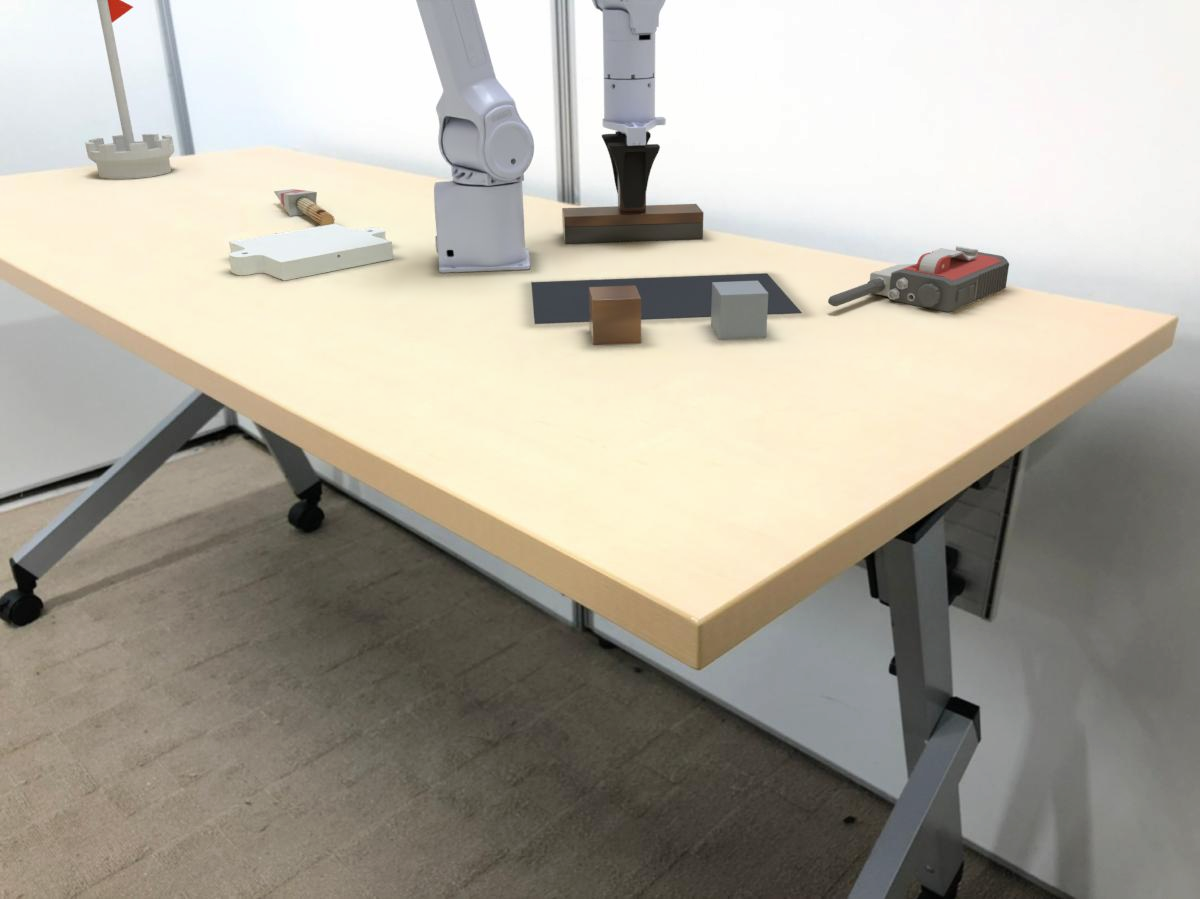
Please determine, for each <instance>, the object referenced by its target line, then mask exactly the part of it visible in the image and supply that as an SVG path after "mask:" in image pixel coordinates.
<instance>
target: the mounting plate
mask: <svg viewBox="0 0 1200 899" xmlns="http://www.w3.org/2000/svg"><path fill="white" fill-rule="evenodd" d="M228 243H229V249H230V250H229V251H230V252H229V253H228V259H229V265H230V270H231V273H232V274H234V275H236V276H249V275H254V274H266V275H269V276H272V277H274V278H276V279H278V280H281V281H283V282H284V281H290V280H296V279H300V278H305V277H309V276H314V275H320V274H324V273H329V272H330V273H331V272H334V271H340V270H345V269H350V268H354V267H360V266H365V265H370V264H375V263H379V262H385V261H390V260H393V259H394V250H393V241H391V240H388V239H387V236H386V229H383V228H380V227H367V228H361V229H360V228H359V229H353V228H350V227H346V226H343V225H340V224H337V223H333V224H331V225H325V226H321V225H320V226H314V227H309V228H307V227H306V228H301V229H296V230H291V231H284V232H280V233H272V234H267V235H266V234H265V235H261V236H256V237H249V238H243V239H238V240H232V241H231V240H230V241H229V242H228Z"/></svg>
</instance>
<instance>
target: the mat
mask: <svg viewBox="0 0 1200 899" xmlns="http://www.w3.org/2000/svg"><path fill="white" fill-rule="evenodd" d="M735 281H759V283H760V284H761V285H762V286H763V287H764V289H765V290H766V291H767V292H768V311H767V316H769V315H772V316H773V315H795V314H797V315H798V314H803V312H802V311H801V310H800V308H799V307H798V306H797V305H796V304H795V302H793V301H792V300H791V298H789V296H788V295H787V294H786V293H785V292H784V291H783V289H782V288H781V287H780V286H779V284H778V283H777V282H776V281H774V279H773V278H772V277H771V276H770V275H769V273H768V272H765V273H763V272H762V273H734V274H709V275H685V276H683V275H682V276H657V277H633V278H631V277H630V278H629V277H628V278H608V279H607V278H605V279H581V280H580V279H579V280H555V281H554V280H553V281H552V280H551V281H531V283H530V284H531V294H532V308H533V309H532V310H533V319H534V320H533V321H534V325H549V324H570V323H571V324H572V323H573V324H574V323H590V316H589V287H608V286H636V288H637V290H638V293H639V295H640V297H641V321H645V320H647V321H648V320H670V319H671V320H672V319H693V318H694V319H696V318H711V305H712V282H735Z"/></svg>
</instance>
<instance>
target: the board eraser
mask: <svg viewBox="0 0 1200 899" xmlns="http://www.w3.org/2000/svg"><path fill="white" fill-rule="evenodd" d="M561 218H562V219H561V220H562V238H563V242H564V245H590V244H591V245H592V244H617V243H645V242H646V243H648V242H650V243H651V242H676V241H679V242H680V241H702V240H704V211H703V210H702V209H701V207H699V205H698V204H697V203H680V204H679V203H677V204H675V203H674V204H653V205H652V204H649V205H648V204H647V194H646V195H645V200H644V204H643V207H642V208H624V205H623V201H622V197H621V191H620V184H619V177H618V193H617V206H614V205H613V206H585V207H583V206H582V207H562V208H561Z"/></svg>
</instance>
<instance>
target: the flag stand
mask: <svg viewBox="0 0 1200 899" xmlns="http://www.w3.org/2000/svg"><path fill="white" fill-rule="evenodd" d="M96 3H97V8H98V14H99V18H100V25H101V29H102V35H103V40H104V45H105V50H106V55H107V60H108V66H109V70H110V76H111V81H112V85H113V86H112V87H113V91H114V97H115V102H116V106H117V111H118V117H119V122H120V128H121V132H122V134H118V135H112V136H111V138H112V143H105V141H104V138H103V137H95V138H91V139H88V141H86V142H84V145H85V149H86V154H87V158H88V159H89V160H91V161H92V162H93V163H94V164H95V165H96V167H97V173H98V177H99V178H102V179H108V180H131V179H141V178H142V179H144V178H151V177H158V176H162V175H166V174H169V173H170V172H172V168H171V162H170V158H171V157H172V156H173V154H175V146H174V140H173V136H172V135H170V134H163V135H161V138H160V135H159V133H143V134H141V137H142V140H135V137H134V133H133V132H134V131H133V127H132V121H131V116H130V111H129V106H128V101H127V96H126V90H125V85H124V79H123V75H122V74H123V73H122V68H121V64H120V59H119V54H118V49H117V43H116V37H115V33H114V28H113V23H114V22H115V21H117V20H118V19H120V18H121V17H122V16H124V15H125V14H127V13H128V12H129V11H130V10H132V9H133V8H134V6H133V5H131V4H129V3H126V2H125V1H123V0H96Z"/></svg>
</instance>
